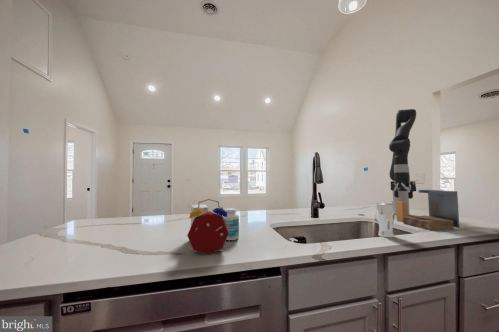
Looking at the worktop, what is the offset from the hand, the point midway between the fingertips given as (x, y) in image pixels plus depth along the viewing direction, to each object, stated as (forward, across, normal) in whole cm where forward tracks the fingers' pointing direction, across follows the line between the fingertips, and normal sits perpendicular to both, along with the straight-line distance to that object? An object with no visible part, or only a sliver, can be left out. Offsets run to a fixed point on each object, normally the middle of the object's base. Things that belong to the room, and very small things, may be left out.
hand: (403, 197), depth 123 cm
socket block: (+15, +12, +1) cm, 19 cm away
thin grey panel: (+15, +12, +9) cm, 21 cm away
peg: (+14, -1, -1) cm, 14 cm away
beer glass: (+15, +20, -37) cm, 45 cm away
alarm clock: (+14, +21, -120) cm, 122 cm away
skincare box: (+14, +6, -123) cm, 124 cm away
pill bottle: (+14, +6, -109) cm, 110 cm away
